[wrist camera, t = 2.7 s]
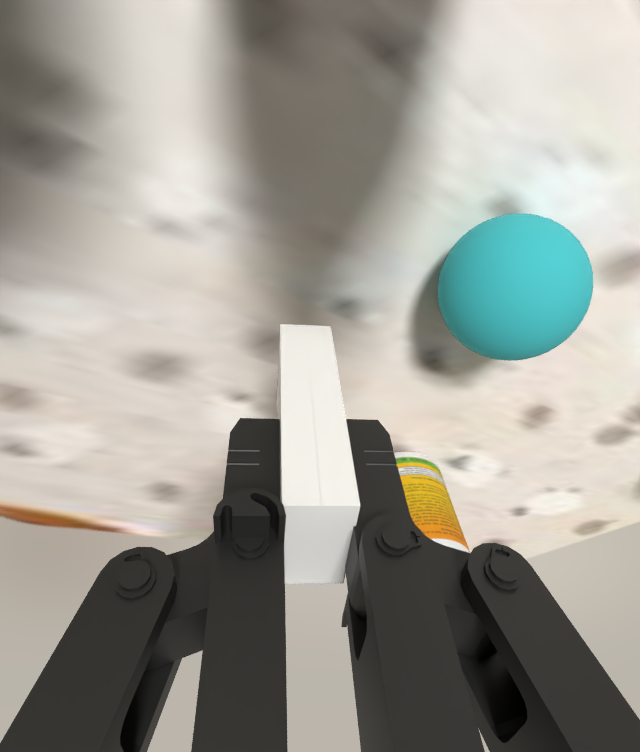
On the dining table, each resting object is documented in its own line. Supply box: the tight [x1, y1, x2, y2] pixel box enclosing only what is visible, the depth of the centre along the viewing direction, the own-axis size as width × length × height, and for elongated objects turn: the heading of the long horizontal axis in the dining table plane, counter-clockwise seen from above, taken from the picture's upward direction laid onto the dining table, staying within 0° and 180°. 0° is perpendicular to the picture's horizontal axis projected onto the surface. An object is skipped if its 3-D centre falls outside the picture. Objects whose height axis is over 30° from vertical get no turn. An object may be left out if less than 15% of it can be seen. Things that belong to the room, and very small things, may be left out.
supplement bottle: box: [394, 451, 470, 553], centre depth 28 cm, size 5×5×10 cm
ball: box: [438, 214, 593, 360], centre depth 20 cm, size 6×6×6 cm
